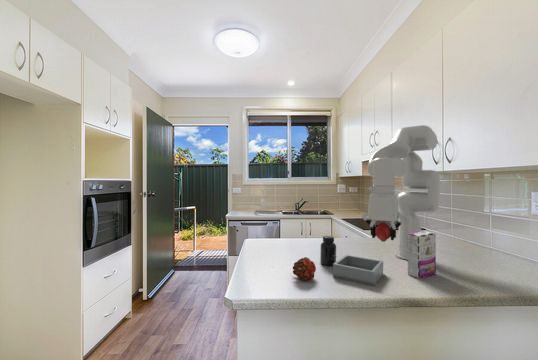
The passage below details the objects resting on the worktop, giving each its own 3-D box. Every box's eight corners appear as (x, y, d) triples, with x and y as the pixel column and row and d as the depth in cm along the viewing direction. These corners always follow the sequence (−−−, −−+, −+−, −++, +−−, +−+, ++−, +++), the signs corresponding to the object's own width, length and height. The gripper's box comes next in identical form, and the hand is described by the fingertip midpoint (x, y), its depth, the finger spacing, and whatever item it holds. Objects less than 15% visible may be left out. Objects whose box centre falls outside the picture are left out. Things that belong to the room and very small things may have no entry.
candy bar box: (423, 270, 108) (424, 230, 108) (436, 274, 104) (436, 232, 104) (406, 274, 103) (406, 233, 103) (418, 278, 98) (419, 235, 98)
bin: (346, 266, 112) (346, 254, 112) (383, 273, 104) (383, 261, 104) (332, 276, 100) (332, 263, 100) (373, 286, 91) (373, 272, 91)
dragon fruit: (302, 289, 92) (302, 281, 104) (321, 276, 92) (319, 269, 104) (288, 268, 94) (290, 263, 105) (307, 255, 93) (307, 251, 105)
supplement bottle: (336, 267, 111) (336, 239, 111) (320, 265, 113) (320, 238, 113) (335, 262, 118) (335, 235, 118) (320, 261, 119) (320, 234, 119)
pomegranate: (371, 240, 100) (371, 219, 100) (385, 239, 101) (385, 219, 101) (380, 243, 95) (380, 221, 95) (394, 243, 95) (394, 221, 95)
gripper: (357, 190, 99) (357, 237, 100) (408, 191, 90) (407, 243, 90) (362, 189, 106) (362, 234, 106) (410, 190, 96) (409, 239, 96)
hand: (383, 238), depth 98 cm, fingers closed on pomegranate, 5 cm apart
